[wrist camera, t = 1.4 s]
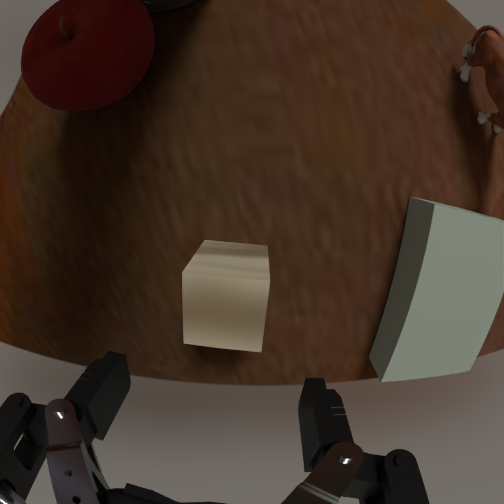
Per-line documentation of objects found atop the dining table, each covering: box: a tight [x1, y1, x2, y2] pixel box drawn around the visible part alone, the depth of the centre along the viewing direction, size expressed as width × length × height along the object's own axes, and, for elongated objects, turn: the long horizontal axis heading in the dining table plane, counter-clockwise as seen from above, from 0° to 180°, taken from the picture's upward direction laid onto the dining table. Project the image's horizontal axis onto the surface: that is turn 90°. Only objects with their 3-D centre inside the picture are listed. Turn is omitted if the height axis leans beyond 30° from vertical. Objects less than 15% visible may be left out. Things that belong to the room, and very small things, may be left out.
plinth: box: [369, 197, 504, 382], centre depth 21 cm, size 16×12×4 cm
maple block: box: [182, 240, 270, 352], centre depth 20 cm, size 5×5×7 cm
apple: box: [21, 0, 155, 111], centre depth 14 cm, size 10×10×10 cm
